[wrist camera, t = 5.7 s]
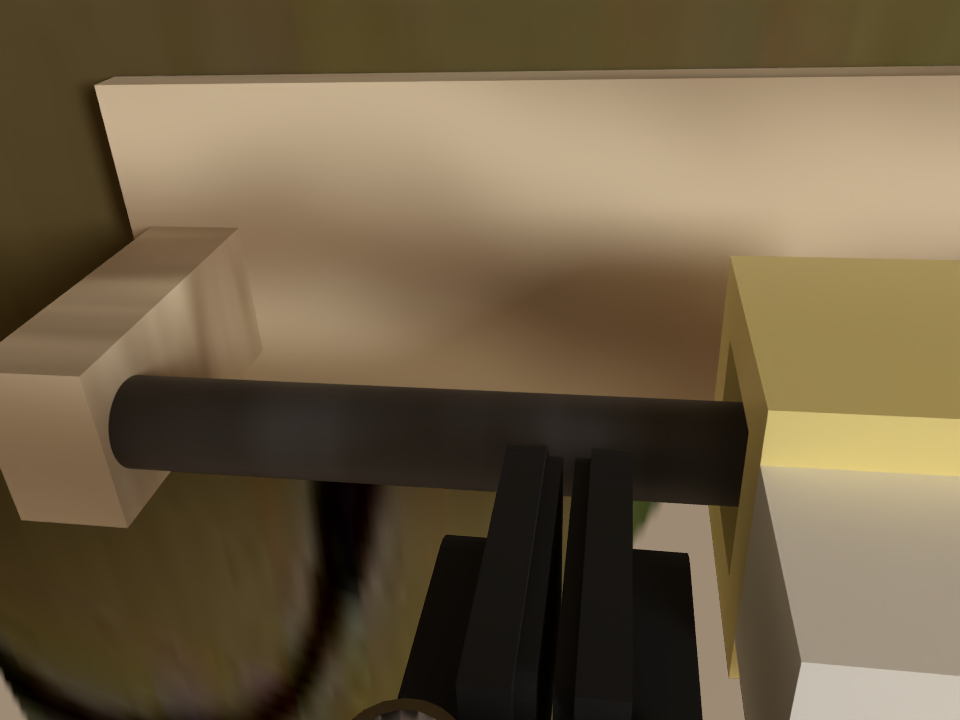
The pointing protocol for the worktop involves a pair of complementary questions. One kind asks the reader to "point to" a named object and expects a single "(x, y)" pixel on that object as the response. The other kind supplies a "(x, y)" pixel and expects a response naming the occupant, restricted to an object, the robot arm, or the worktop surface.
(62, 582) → the worktop surface
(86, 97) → the worktop surface
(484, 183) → the roller holder rack
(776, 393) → the sleeve
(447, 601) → the robot arm
